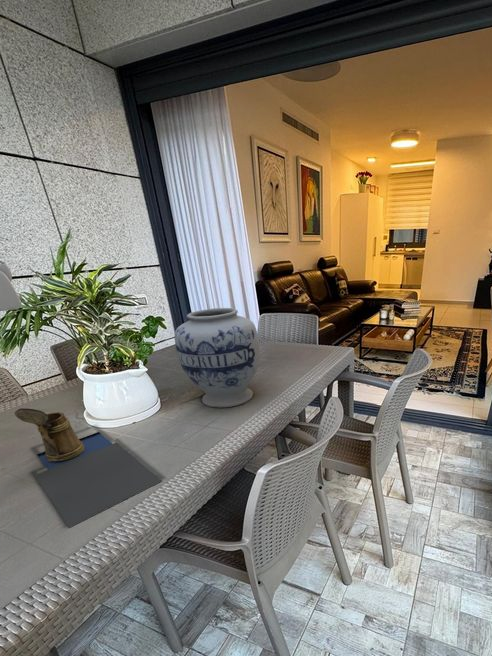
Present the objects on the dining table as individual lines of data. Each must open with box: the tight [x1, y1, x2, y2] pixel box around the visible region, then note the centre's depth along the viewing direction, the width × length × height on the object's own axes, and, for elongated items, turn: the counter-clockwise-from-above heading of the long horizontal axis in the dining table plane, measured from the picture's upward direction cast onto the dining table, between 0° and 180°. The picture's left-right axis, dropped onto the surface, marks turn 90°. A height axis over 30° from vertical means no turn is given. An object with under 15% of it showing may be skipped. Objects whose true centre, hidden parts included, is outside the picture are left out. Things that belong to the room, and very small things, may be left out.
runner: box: [33, 442, 163, 529], centre depth 86 cm, size 20×28×1 cm
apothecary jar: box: [174, 307, 261, 409], centre depth 119 cm, size 27×27×30 cm
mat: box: [36, 431, 114, 470], centre depth 100 cm, size 16×14×1 cm
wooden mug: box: [14, 407, 84, 462], centre depth 90 cm, size 9×14×18 cm, turn 12°
